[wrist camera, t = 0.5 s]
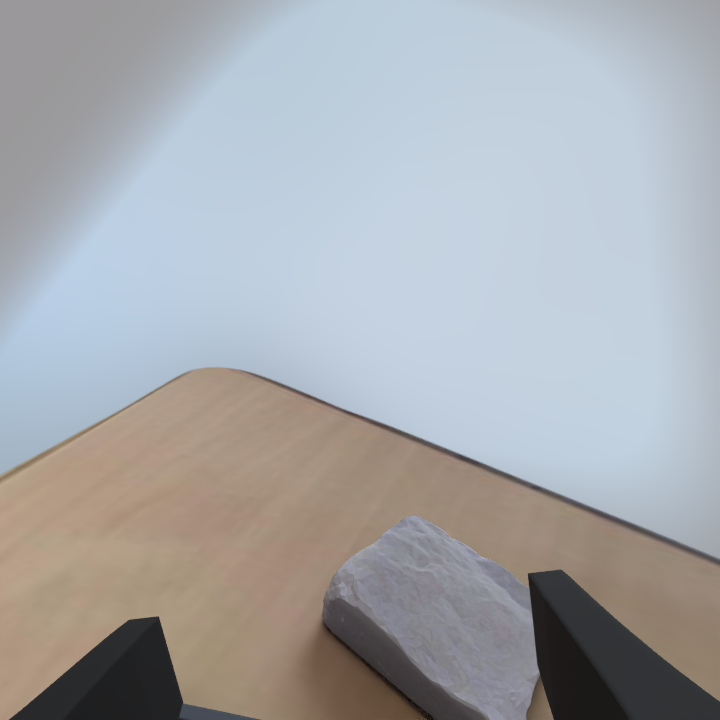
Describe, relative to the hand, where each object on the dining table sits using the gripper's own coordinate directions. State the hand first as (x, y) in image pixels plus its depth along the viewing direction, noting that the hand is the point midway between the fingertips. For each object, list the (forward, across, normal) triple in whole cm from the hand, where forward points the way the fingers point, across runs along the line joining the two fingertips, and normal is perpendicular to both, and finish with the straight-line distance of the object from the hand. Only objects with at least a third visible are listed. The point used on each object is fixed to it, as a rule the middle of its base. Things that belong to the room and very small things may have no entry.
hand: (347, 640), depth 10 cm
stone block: (+18, -2, +16) cm, 24 cm away
